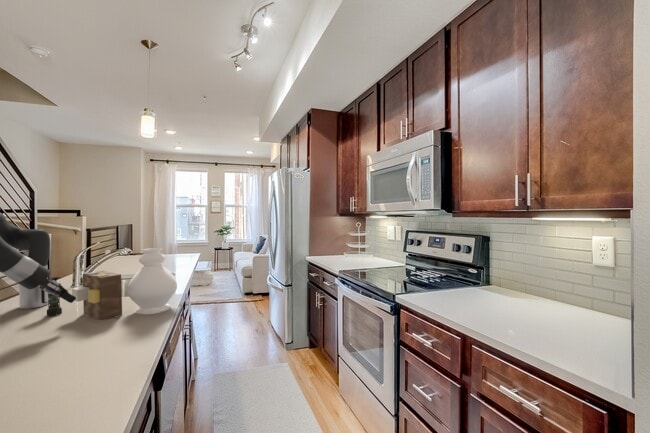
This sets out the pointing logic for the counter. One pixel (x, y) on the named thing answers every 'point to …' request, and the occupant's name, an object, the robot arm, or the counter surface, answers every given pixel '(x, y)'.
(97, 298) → the mustard button
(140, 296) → the decorative vase
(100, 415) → the counter surface
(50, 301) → the grenade
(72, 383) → the counter surface
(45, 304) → the robot arm
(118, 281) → the brown wooden block
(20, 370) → the counter surface
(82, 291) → the ivory button
